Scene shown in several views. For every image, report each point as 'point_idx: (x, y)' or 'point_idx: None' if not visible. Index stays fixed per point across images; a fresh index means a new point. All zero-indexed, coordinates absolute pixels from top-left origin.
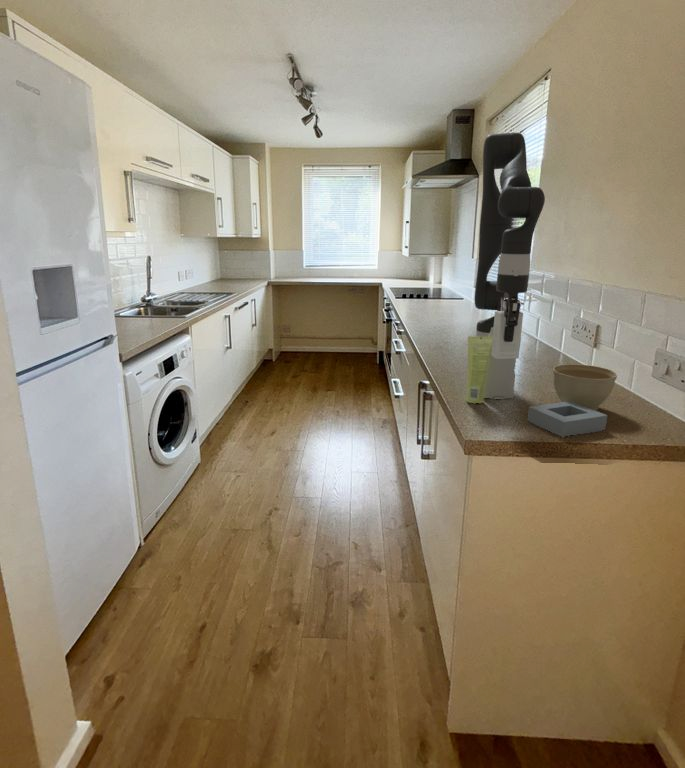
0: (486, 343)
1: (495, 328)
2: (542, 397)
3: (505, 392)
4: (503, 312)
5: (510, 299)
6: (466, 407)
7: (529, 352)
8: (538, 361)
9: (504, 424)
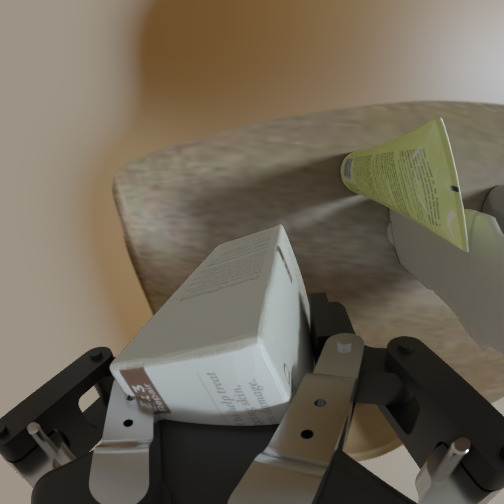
0: (439, 213)
1: (234, 277)
2: (412, 325)
3: (399, 253)
4: (147, 399)
5: (32, 495)
6: (308, 150)
7: None
8: None
9: (211, 235)
